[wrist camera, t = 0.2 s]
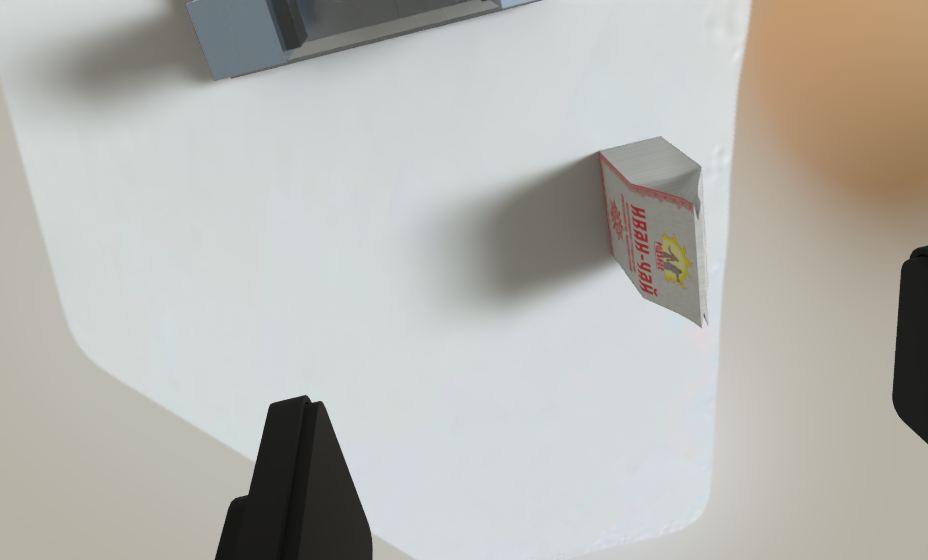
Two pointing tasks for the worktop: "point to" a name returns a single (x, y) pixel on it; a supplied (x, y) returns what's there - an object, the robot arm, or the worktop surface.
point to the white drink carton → (658, 223)
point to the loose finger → (508, 2)
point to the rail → (311, 27)
